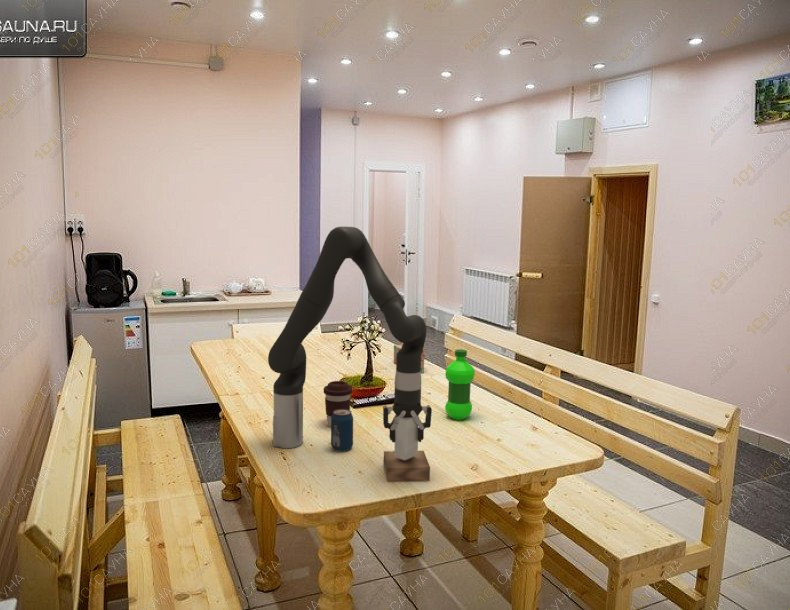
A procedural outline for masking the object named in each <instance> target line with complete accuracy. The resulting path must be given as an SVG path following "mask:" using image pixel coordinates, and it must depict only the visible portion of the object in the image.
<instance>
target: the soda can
mask: <svg viewBox="0 0 790 610" xmlns="http://www.w3.org/2000/svg"><path fill="white" fill-rule="evenodd" d="M353 445H354V416H353V413H352V411H351V409H350V410H348V409H337V410H334V411H333V414H332V416H331V427H330V446H331V448H332V449H333V451H336V452H341V453H342V452H348V451H351V449H352V447H353Z"/></svg>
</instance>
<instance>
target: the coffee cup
mask: <svg viewBox="0 0 790 610" xmlns="http://www.w3.org/2000/svg"><path fill="white" fill-rule="evenodd" d="M323 394H324V395H325V397H324V402H325V403H324V405H325V414H326V422H327V423H326V424H327V426H328V427H330V428H331V416H332V414H333V411H334V410H337V409H348V410H350V411H351V401H352V399H351V395H352V394H353V387H352V386H350V385H349V383H348V382H346V381H343V380H334V381H329V382H328V383H327V385H326V386H324V387H323Z"/></svg>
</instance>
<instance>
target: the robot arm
mask: <svg viewBox="0 0 790 610" xmlns="http://www.w3.org/2000/svg"><path fill="white" fill-rule="evenodd" d="M347 259H351V261H353V262H354V264H355V265H356V266H357V268H358V269H360V271H361V272H362V274H363V278H364V280H365V283H366V288H367V290H368V293H369V295H370V297H371V299H372V300H373V302H374V303H375V304H376V306H377V307H378V308H379V310H380V311H381V312H382V314H383V316H384V319H385V322H386V323H387V326H388V329H389V331H390V333H391V334H392V337H394V339H396V341H398V342H400V343H401V344H402V343H403V346H402V348H401V349H400V350H399V351H398V353H397V357H396V364H395V373H394V374H395V377H394V398H393V399H394V403H393V405H392V406H387V405H386V404H385V405H383V406H382V416H383V417H382V423H383V427H384V429H388V430H389V434H388V435H389V440H390V441H391V443H395V427H396V426H397V424H399V421H398V420H399V419H400V418H414V420H415V421H416V423H417V424H418V443H422V441H423V440H424V438H425V437H424V434H425V433H424V432H425V430H426V429H427V428H428V429H429V428H431V423H432V412H433V410H432V407H431V405H430V404H427V405H422V403H421V402H422V374H421V354H422V351H423V348H425V342H426V337H427V325H426V322H425V320H424V318H423V317H422V316H420V315H417V314H412V315H407V314H406V312H405V310H404V308H405V305H406V302H405V300H404V298H403V296H402V295H401V293H399V291H398V290H397V288H396V287H395V285H394V284H393V283H392V282H391V280H390V279H389V277H388V276H387V274H386V273H385V271H384V269H383V267H382V266H381V264H380V262H379V261H378V259H377V257H376V255H375V253H374V251H373V249H372V247H371V245H370V243H369V241H368V239H367V237H366V235H365V234H364V232H363V230H360V229H359V228H358V227H356V226H337V227H334V228H333V229H331V230H330V231H329V233H328V234H327V236H326V238H325V240H324V243H323V245H322V248H321V251H320V253H319V257H318V259H317V261H316V263H315V266H314V268H313V270H312V272H311V274H310V276H309V278H308V280H307V282H306V284H305V285H304V288H303V290H302V291H301V293H300V294H299V297H298V299H297V302H296V303H295V306H294V308H293V310H292V311H291V314H290V316H289V317H288V320H287V321H286V324H285V326H284V327H283V329H282V330H281V333H279V336H278V337H277V339H276V340H275V341H274V343H273V345H272V346H271V347H270V349H269V352H268V355H267V361H268V362H267V363H268V366H269V368H270V370H272V372H274V373H277V374H279V376H278V377H277V378H276V380H275V381H274V383H273V389H272V391H273V415H272V442H273V443H272V447H278V448H281V449H292V448H297V447H301V446H302V444H304V385H305V383H306V374H307V353H306V349H305V347H304V345H303V344H302V343H303V342H304V340H305V339H306V337H307V336H308V335H309V334H310V333H312V331H313V330H314V329H315V328H316V327H317V326H318V325H319V323H320V322H322V320H323V318H324V317H325V315H326V313H327V311H328V309H329V308H330V306H331V304H332V302H333V299H334V294H335V280H336V276H337V274H338V272H339V270H340V268H341V267H342V265H343V263H344V262H345V260H347ZM422 411H423V413H424V415H425V420H424V421H423V422H422V420H421V419H420V417H419V418H418V416H419V415H420V414H421V413H422ZM392 412H393V413H394V414H395V415H394V417H393V419H392V420H391V422H389V415H390V414H392ZM395 417H397V419H396V420H395Z"/></svg>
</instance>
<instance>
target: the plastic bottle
mask: <svg viewBox="0 0 790 610" xmlns="http://www.w3.org/2000/svg"><path fill="white" fill-rule="evenodd" d="M467 355H468V350H467V349H455V350H454V356H455V358H456V359H455V360H454V361H452V362H451V363H450V364H449V365H448V366H447V367H446V370H445V379H446V380H447V381H448V394H447V395H448V397H447V402H446V403H445V406H444V408H445V409H444V410H445V413H446V414H447V415H448V416H450V418H451V419H453V420H457V421H461V420H465V419H466V418H467V417H469V416H470V414H471V413H472V410H473V404H472V402H471V387H472V386H471V383H472V381H473V380H474V378H475V375H476V374H475V373H476V372H475V368H474V366H472V365H471V364H470V363H469V362H468V361H467V360H466V357H467Z"/></svg>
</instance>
